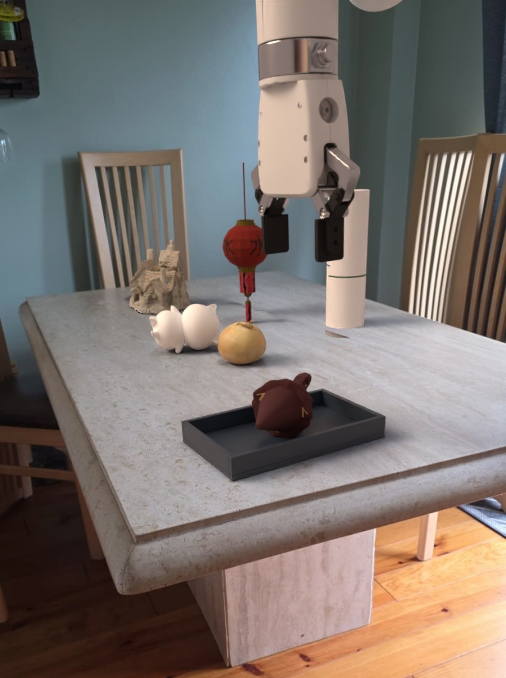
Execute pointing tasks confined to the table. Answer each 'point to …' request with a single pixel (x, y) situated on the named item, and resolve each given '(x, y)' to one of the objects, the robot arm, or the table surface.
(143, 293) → the ceramic cottage
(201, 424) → the dish tray
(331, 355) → the table surface
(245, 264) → the lantern
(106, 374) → the table surface
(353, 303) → the cylindrical container
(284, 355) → the table surface
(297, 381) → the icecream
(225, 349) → the onion
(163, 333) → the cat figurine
